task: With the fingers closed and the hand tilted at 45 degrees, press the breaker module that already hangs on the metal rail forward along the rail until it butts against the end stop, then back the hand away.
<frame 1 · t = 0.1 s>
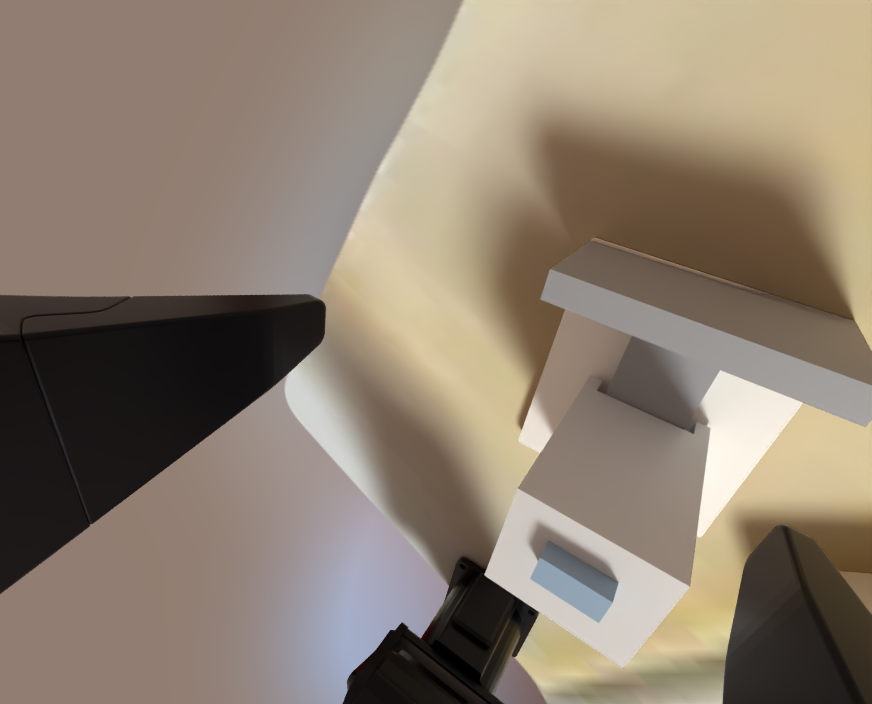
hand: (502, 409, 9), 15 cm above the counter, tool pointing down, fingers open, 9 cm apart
module: (601, 503, 19), point 6 cm above the counter, slide at 0.0 cm
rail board: (651, 390, 22), on the counter
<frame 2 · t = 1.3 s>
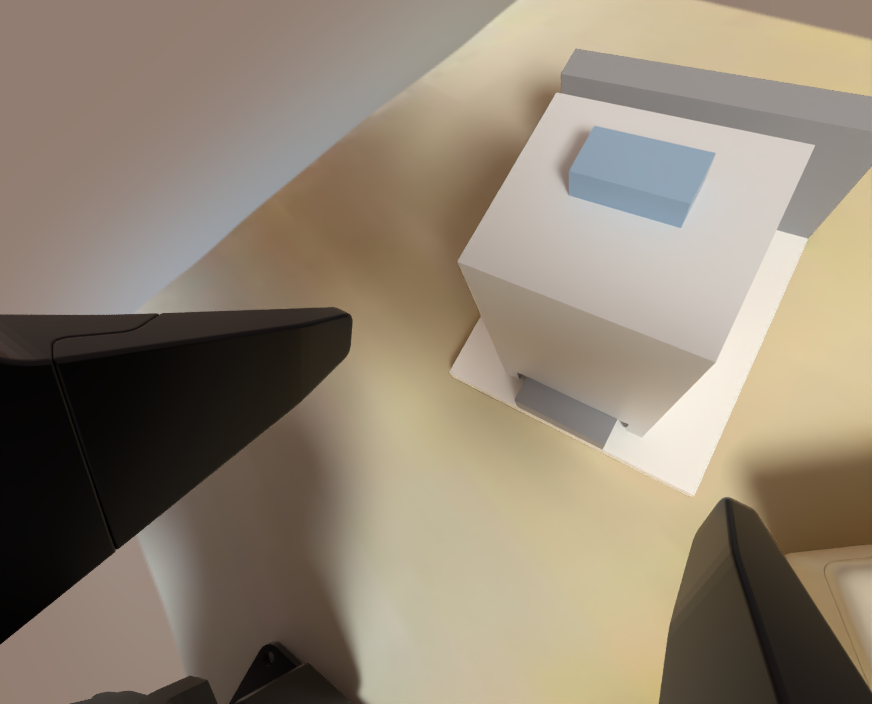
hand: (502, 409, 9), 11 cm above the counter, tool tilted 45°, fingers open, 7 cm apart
module: (608, 292, 13), point 6 cm above the counter, slide at 0.0 cm
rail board: (622, 305, 19), on the counter
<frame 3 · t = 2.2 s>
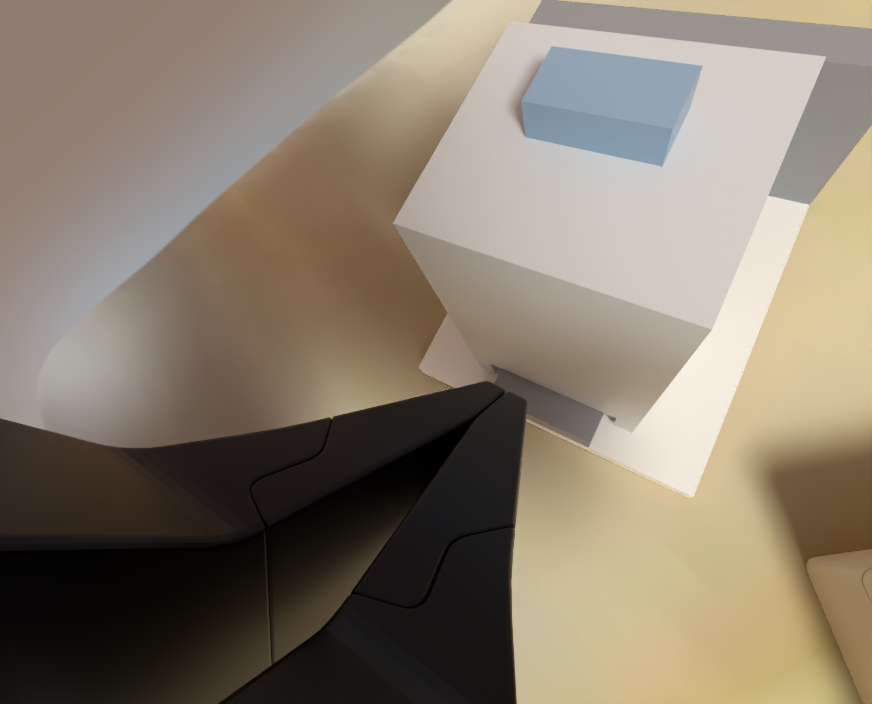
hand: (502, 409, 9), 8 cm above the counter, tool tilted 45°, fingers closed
module: (585, 265, 12), point 6 cm above the counter, slide at 0.0 cm
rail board: (607, 287, 17), on the counter
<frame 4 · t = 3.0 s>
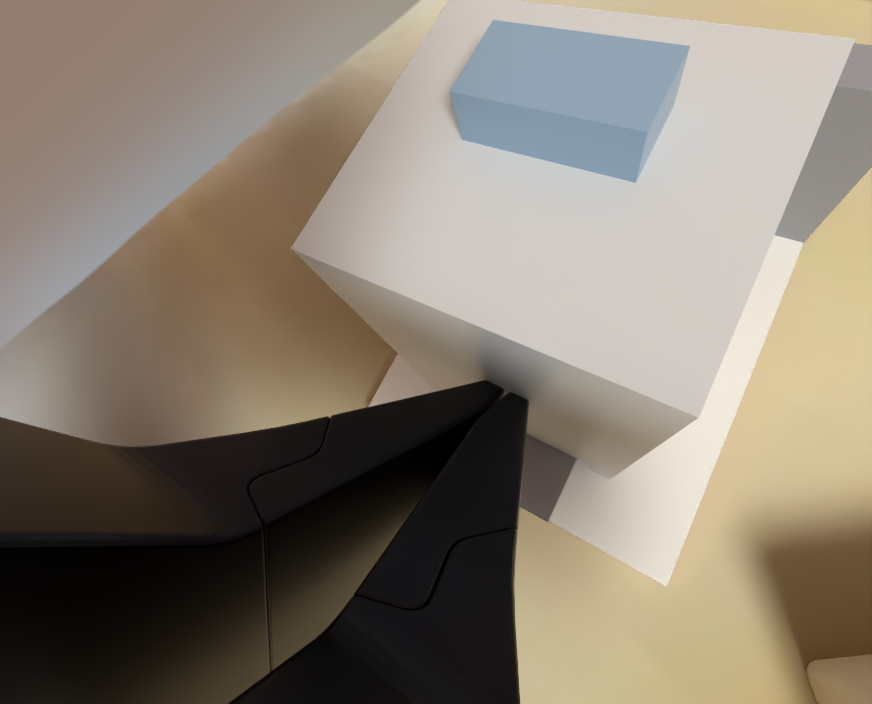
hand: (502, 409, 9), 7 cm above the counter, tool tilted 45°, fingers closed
module: (551, 293, 10), point 6 cm above the counter, slide at 0.8 cm, touching gripper
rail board: (576, 328, 15), on the counter
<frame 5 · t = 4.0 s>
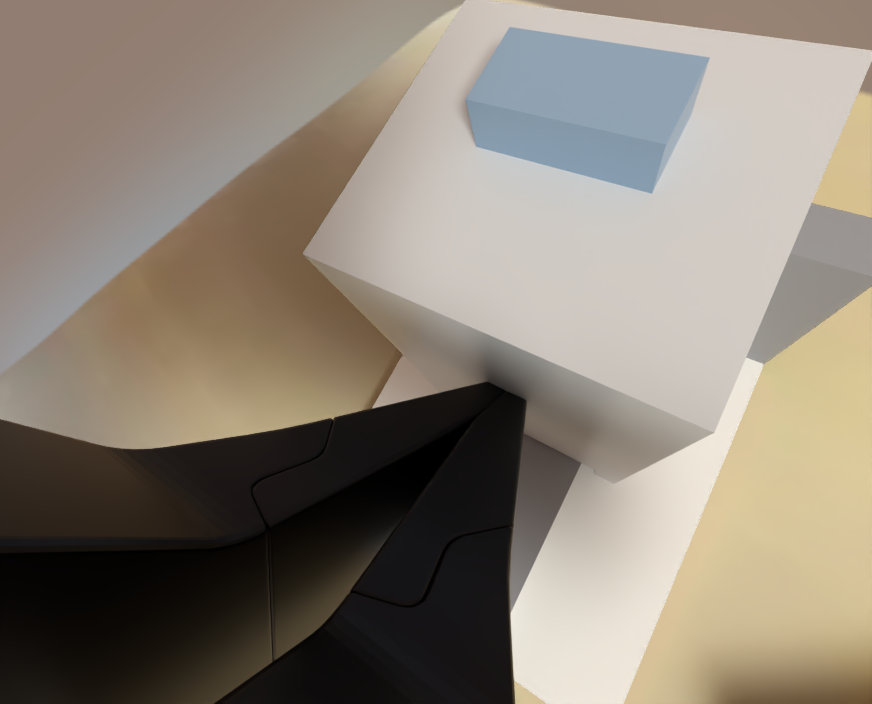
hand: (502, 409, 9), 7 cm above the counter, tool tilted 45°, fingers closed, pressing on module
module: (560, 298, 10), point 6 cm above the counter, slide at 4.8 cm, touching gripper
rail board: (529, 437, 15), on the counter
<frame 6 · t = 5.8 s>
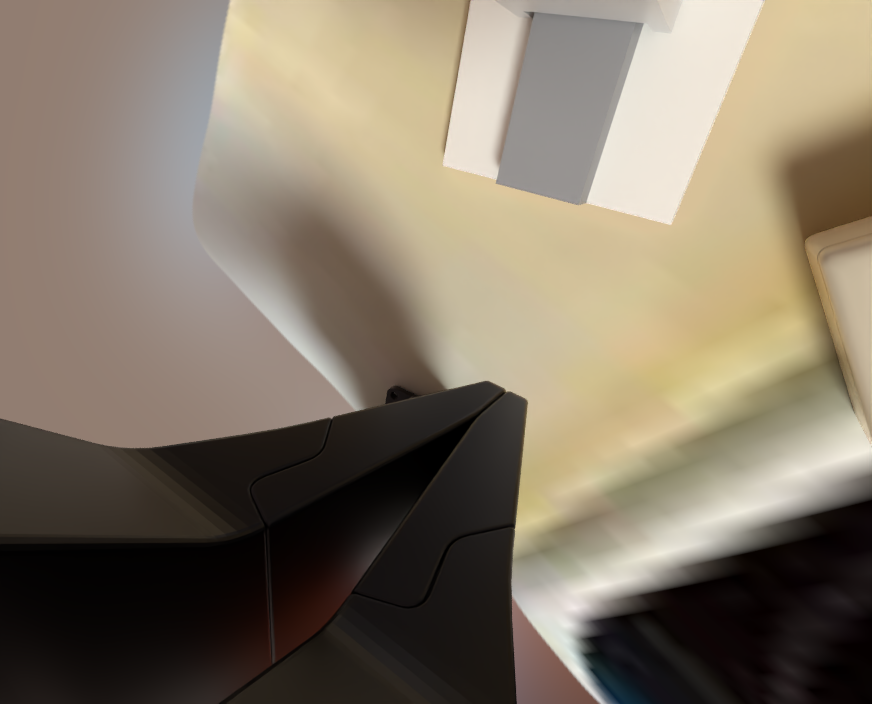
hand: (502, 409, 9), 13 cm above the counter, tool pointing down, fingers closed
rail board: (598, 22, 17), on the counter
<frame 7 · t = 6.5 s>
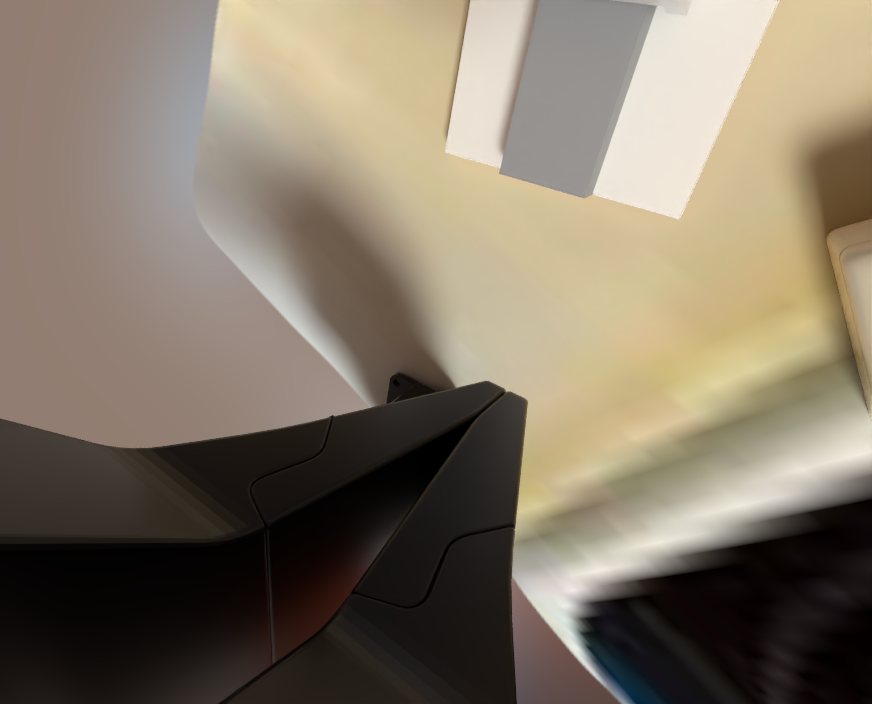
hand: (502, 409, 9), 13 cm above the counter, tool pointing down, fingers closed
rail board: (609, 1, 16), on the counter
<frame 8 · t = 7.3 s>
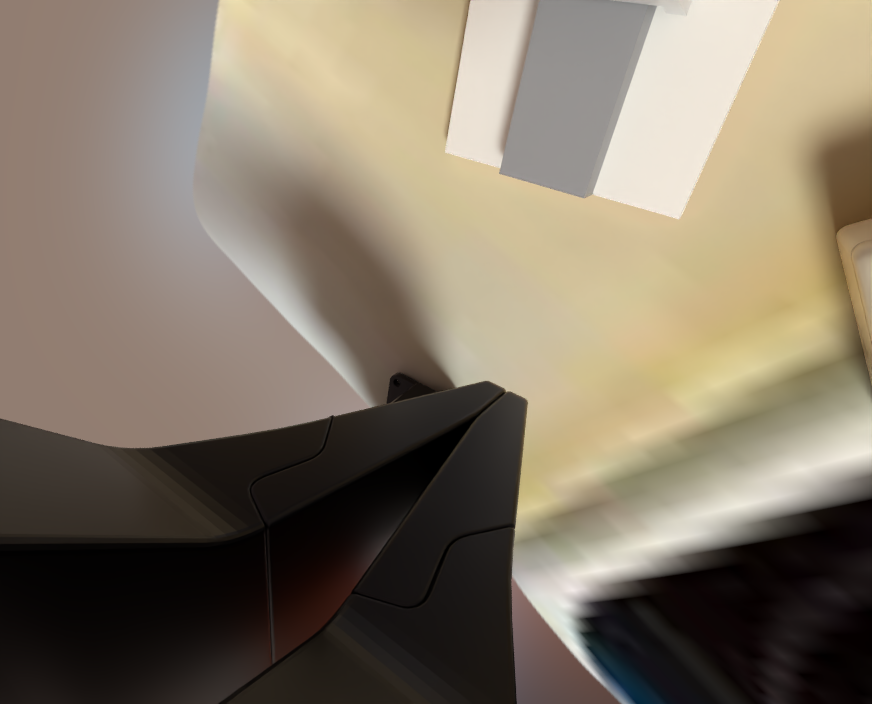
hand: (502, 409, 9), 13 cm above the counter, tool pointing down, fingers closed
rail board: (610, 1, 16), on the counter
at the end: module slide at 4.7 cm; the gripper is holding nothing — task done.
